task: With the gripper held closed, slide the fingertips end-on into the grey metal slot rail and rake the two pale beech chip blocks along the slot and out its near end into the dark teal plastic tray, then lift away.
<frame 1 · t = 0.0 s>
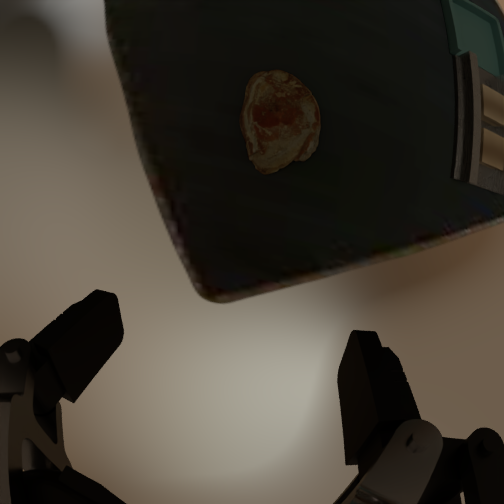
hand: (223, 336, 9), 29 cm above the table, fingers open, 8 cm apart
chip a: (483, 106, 25), point 1 cm above the table, touching slot rail
tray: (472, 35, 21), on the table
stone: (281, 123, 33), on the table
slot rail: (480, 124, 27), on the table
chip b: (482, 148, 27), point 1 cm above the table, touching slot rail
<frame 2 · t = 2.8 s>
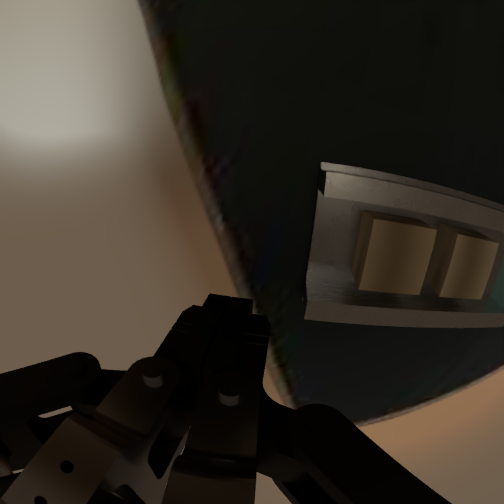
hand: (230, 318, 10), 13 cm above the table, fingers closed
chip a: (454, 255, 19), point 1 cm above the table, touching slot rail
slot rail: (423, 247, 20), on the table
chip b: (386, 245, 19), point 1 cm above the table, touching slot rail
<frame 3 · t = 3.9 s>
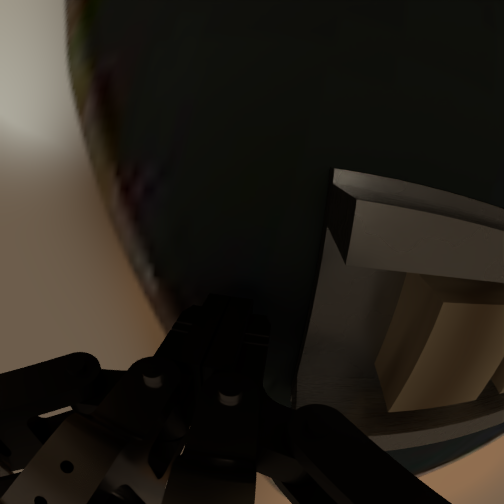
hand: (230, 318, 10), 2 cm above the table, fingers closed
slot rail: (482, 311, 10), on the table
chip b: (437, 321, 10), point 1 cm above the table, touching slot rail
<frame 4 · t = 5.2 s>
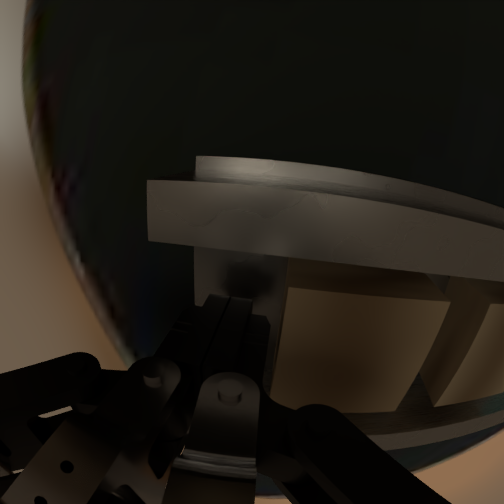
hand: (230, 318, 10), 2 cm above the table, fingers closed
chip a: (471, 320, 10), point 1 cm above the table, touching slot rail
slot rail: (417, 308, 11), on the table
chip b: (343, 315, 10), point 1 cm above the table, touching gripper, slot rail
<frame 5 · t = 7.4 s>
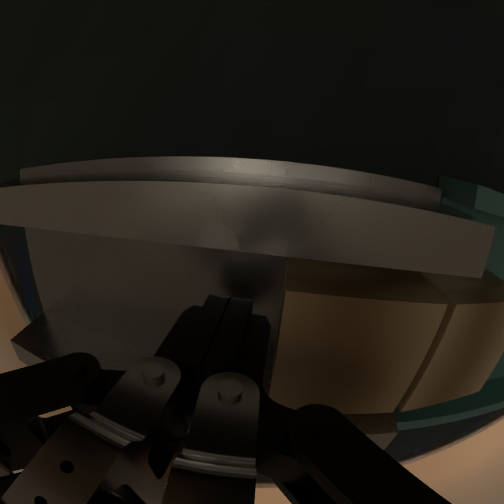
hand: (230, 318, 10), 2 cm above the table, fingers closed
chip a: (439, 318, 10), point 1 cm above the table, tilted 6°, touching chip b
tray: (497, 310, 10), on the table
slot rail: (182, 282, 12), on the table
chip b: (341, 316, 10), point 1 cm above the table, touching chip a, gripper
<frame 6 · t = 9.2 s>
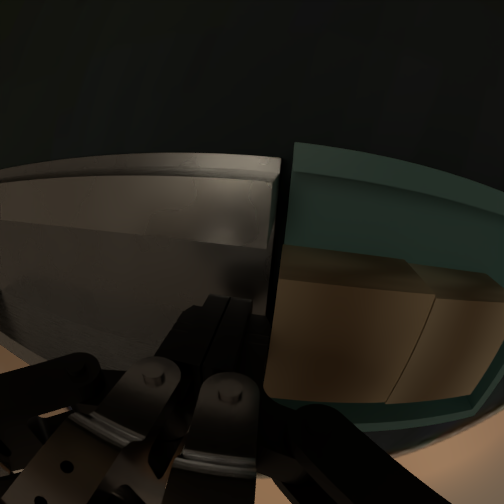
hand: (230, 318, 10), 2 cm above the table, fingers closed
chip a: (433, 317, 10), resting on tray
tray: (416, 305, 11), on the table
slot rail: (81, 261, 13), on the table
chip b: (334, 308, 11), resting on tray, touching gripper
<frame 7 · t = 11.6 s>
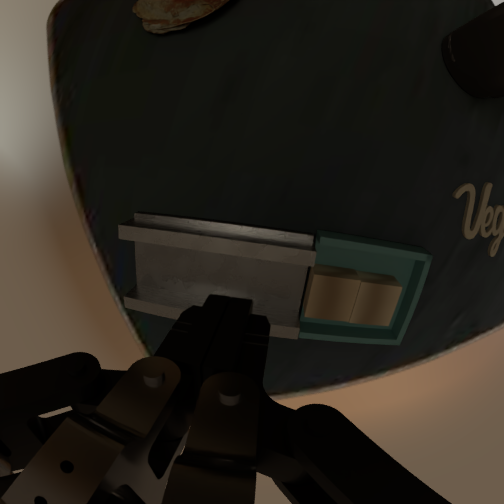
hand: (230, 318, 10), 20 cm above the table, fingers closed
chip a: (369, 292, 30), resting on tray
tray: (361, 287, 30), on the table
stone: (187, 4, 21), on the table
slot rail: (216, 267, 31), on the table
chip b: (328, 286, 30), resting on tray
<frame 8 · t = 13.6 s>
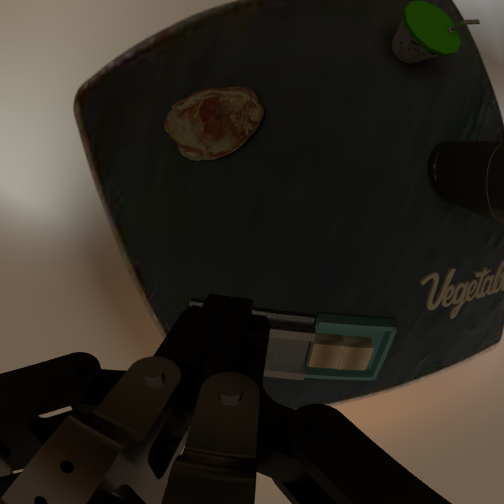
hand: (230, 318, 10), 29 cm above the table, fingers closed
cup: (404, 50, 26), on the table
chip a: (353, 347, 43), resting on tray
tray: (348, 344, 43), on the table
decorative sign: (474, 286, 37), on the table
stone: (213, 124, 35), on the table
slot rail: (249, 334, 45), on the table
chip b: (325, 345, 43), resting on tray
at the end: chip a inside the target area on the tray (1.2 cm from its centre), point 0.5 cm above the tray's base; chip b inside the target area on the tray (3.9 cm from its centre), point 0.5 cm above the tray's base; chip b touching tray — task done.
